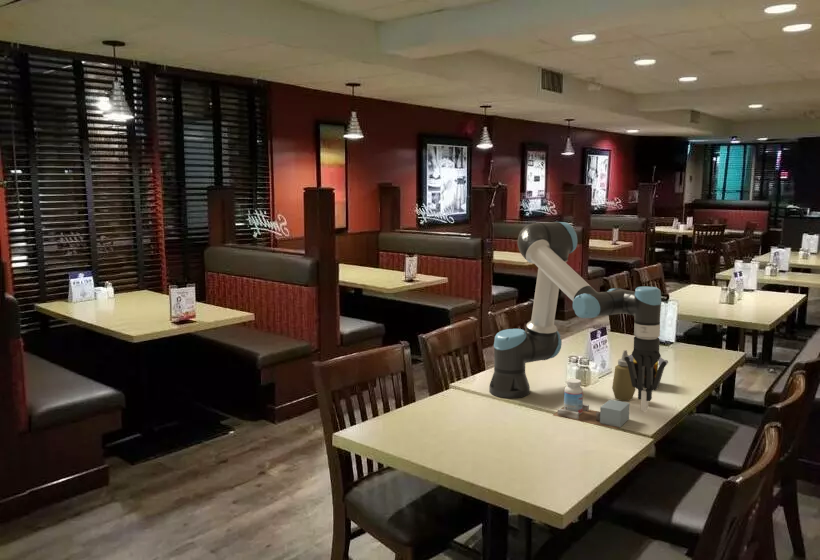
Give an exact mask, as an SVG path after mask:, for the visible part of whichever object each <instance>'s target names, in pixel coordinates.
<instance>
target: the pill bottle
mask: <svg viewBox="0 0 820 560" xmlns="http://www.w3.org/2000/svg"><path fill="white" fill-rule="evenodd" d="M563 392H564V394H563V395H564V397H563V407H564V410H569V411H574V412H579V415H580V414H582V411H583V404H584V401H583V400H584V389H583V388H582V381H581V379H577V378H568V379H566V386H565V387H564V391H563Z"/></svg>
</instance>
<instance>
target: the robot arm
mask: <svg viewBox="0 0 820 560" xmlns="http://www.w3.org/2000/svg"><path fill="white" fill-rule="evenodd" d="M577 246H578V235H577V232H576V230H575V229H574V227H573V225H571V224H570V223H568V222H565V221H551V222H550V221H549V222H533V223H529V224H528V225H525V226H524V227H522V229H521V230H520V231H519V234H518V238H517V248H518V251H519V253H520V255H522V257H523V258H524V260H526V261H527V262H528V263H529V264H534V265H535V266H536V267H537V268H538V269H537V274H536V275H537V276H536V281H535V282H536V284H535V289H534V291H535V292H534V297H533V306H532V313H531V319H530V320H529V321H528V322H527V323H526V326H525V329H521V328H506V329H502V330H499V332H497V333H496V334H495V336H494V342H493V348H494V350H493V352H494V354H493V355H494V356H493V357H494V358H493V365H494V367H493V368H494V369H493V374H492V377H491V380H490V383H489V393H490V394H491V395H494V396H496V397H500V398H509V399H516V398H517V399H518V398H524V397H527V396H529V394H530V392H531V389H530V388H531V387H530V384H529V381H528V377H527V373H526V364H528V363H534V362H538V361H539V362H540V361H546V360H547V361H548V360H550V359H553V358H555V357H556V356H558V355H559V353H560V351H561V349H562V343H563V342H562V341H563V340H562V338H561V337H562V336H561V333H560V332H559V331H558V327H557V326H556V325H555V320H556V312H557V305H558V299H559V292H560V290H561V292H563V294H564V295H566V297H568V299H569V300H571V301H572V309H573V311H574V314H575V315H576V317H578V318H580V319H594V318H598V317H600V318H601V317H605V316H613V315H620V314H625V315H630V316H633V318H634V321H633V322H634V326H633V328H634V329H633V331H634V332H633V335H634V337H633V350H632V352H631V354H628V356H626V357H625V358H624V359H625V361H626V363H627V364H628V369H629V373H630V378H631V383H632V386H633V387H635V389H637V398H638V400H639V401H640V411H641V412H645V413H646V412H647V411H648V410H649V402H650V401H652V399H653V397H652V395H653V391H656V390H657V389H659V386H660V384H661V380H662V376H663V373H664V370H665V367H666V366H667V365H668V364H669V361H668V360H667V359H664V358H663V357H662V354H660V336H661V310H662V291H661V289H660V288H658V287H656V286H645V285H644V286H637V287H636V288H635V289H634V290H635V291H633V290H627V289H623V288H610V289H608V290H607V291H600V292H598V291H597V290H596V289H594V287H592V286H591V285H590V284H589V283H588V282H587V281H586V280H585V279H584V278H583V277H582V276H581V275H580V274H578V273H577V272H576V271H575V270H574V269H573V268H572V267H571V266H570V265H569V264H568V263H567V262H569V260H568V259H569V254H572V253H573V252H574V251H575V250H576V249H577ZM633 357H634V358H633ZM634 359H635V360H636V362H637V363H638V380H637V375H636V371H635V366H634V362H633V360H634ZM657 361H658V371H657V374H656V377H655V381H654V384H653V367H654V365H655V363H656V362H657ZM645 366H646V370H647V382H646V388H644V387H645V386H644V371H645Z"/></svg>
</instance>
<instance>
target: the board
mask: <svg viewBox="0 0 820 560" xmlns="http://www.w3.org/2000/svg"><path fill="white" fill-rule="evenodd" d="M552 416H553V417H559V418H562V419H563V418H564V419H569V420H572V421H577V422H582V423H586V424H592V425H596V426H601V427H605V428H611V429H614V430H615V429H616V430H619V429H620V427H616V426H611V425H606V424H602V423H600V410H599V411H598V410H594V409H593V410H592V409H590V404H586V403H583V411H582V414H580V415H579V412H574V411H569V410H564V406H563V407H561V408H558V409H557V410H556V412H554V413H553V414H552Z"/></svg>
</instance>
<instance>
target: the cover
mask: <svg viewBox="0 0 820 560" xmlns="http://www.w3.org/2000/svg"><path fill="white" fill-rule="evenodd" d="M599 412H600V423H602V424H606V425H611V426H616V427H619V428H621V427H622V426H623V425H624V424H625V423H626V422H627V421H629V419H630V402H628V401H622V400H617V399H616V400H615V399H609V400H607V401H606V402H605V403H603V404H602V405H601V406H600V410H599Z"/></svg>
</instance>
